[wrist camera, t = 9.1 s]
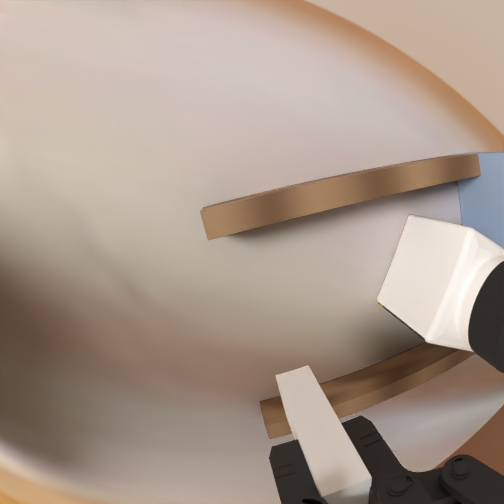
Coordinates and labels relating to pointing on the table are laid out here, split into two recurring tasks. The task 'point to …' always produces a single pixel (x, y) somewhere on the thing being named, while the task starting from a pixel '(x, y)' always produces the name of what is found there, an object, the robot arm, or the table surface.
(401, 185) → the guide channel
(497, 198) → the end stop
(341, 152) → the table surface
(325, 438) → the robot arm
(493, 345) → the medicine bottle
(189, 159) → the table surface
